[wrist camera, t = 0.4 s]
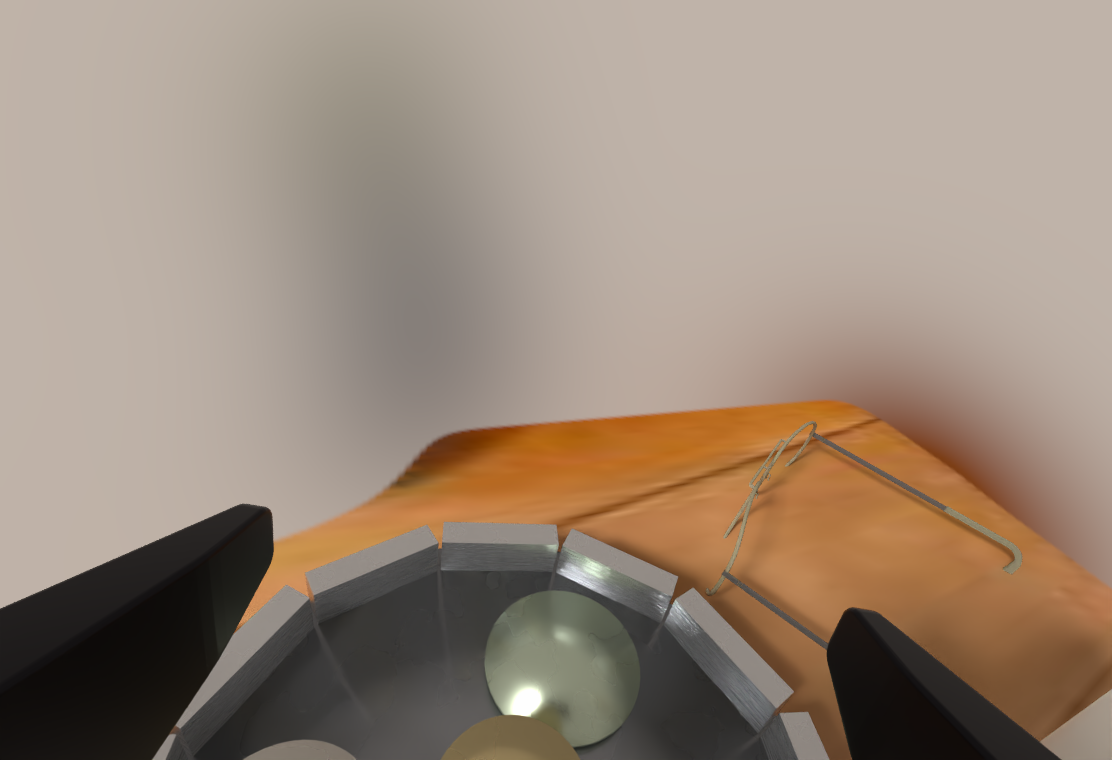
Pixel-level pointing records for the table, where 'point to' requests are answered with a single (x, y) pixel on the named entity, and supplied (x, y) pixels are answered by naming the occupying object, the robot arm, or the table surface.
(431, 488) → the table surface
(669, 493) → the table surface
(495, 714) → the carrier plate
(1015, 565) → the eyeglasses
